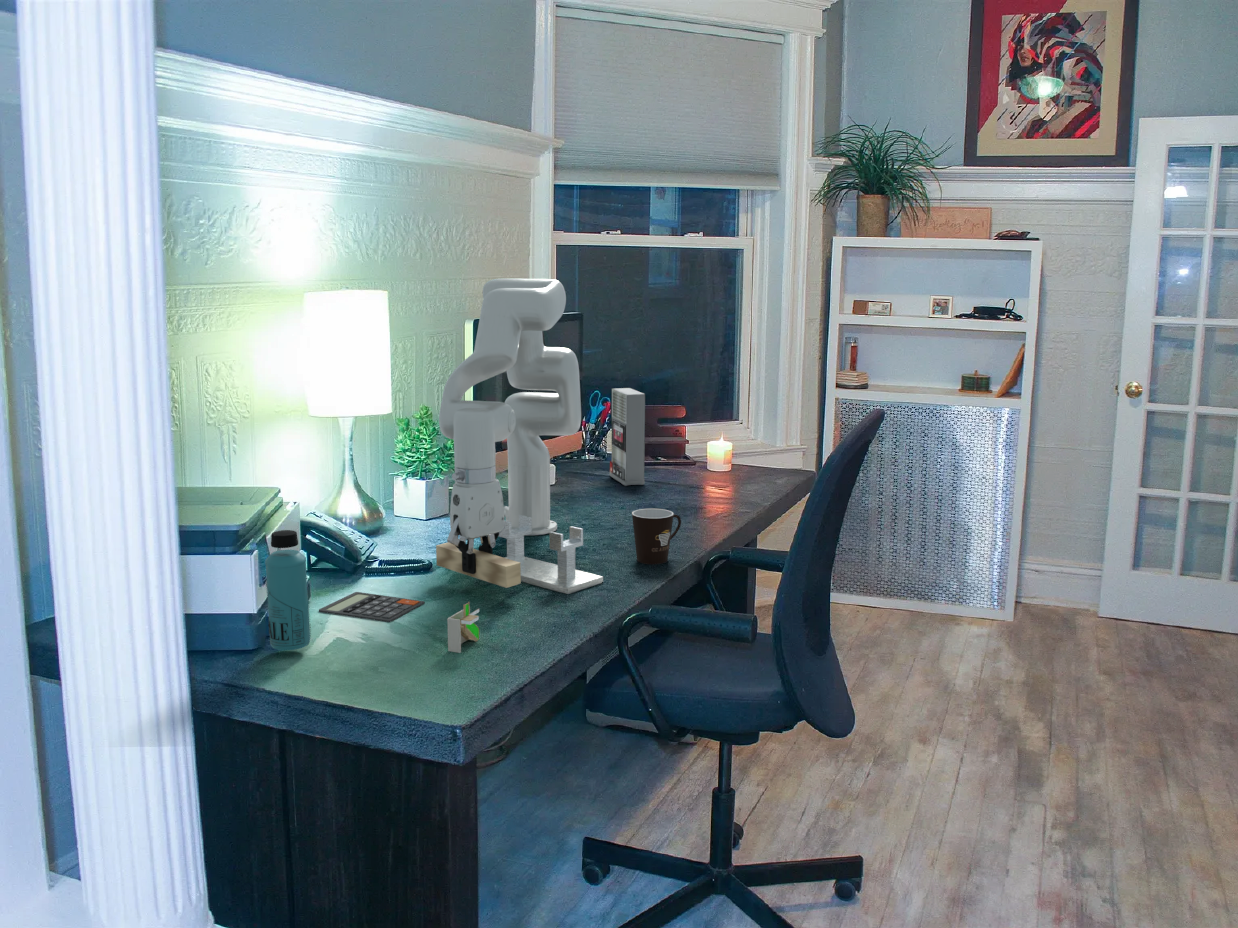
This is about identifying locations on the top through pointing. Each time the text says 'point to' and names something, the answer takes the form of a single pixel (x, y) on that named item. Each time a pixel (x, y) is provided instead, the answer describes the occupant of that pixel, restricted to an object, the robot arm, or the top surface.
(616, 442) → the cassette tape recorder
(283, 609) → the beverage bottle
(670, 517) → the coffee mug
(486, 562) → the rail
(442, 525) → the top surface
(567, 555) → the bracket stand
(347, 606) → the calculator
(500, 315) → the robot arm
